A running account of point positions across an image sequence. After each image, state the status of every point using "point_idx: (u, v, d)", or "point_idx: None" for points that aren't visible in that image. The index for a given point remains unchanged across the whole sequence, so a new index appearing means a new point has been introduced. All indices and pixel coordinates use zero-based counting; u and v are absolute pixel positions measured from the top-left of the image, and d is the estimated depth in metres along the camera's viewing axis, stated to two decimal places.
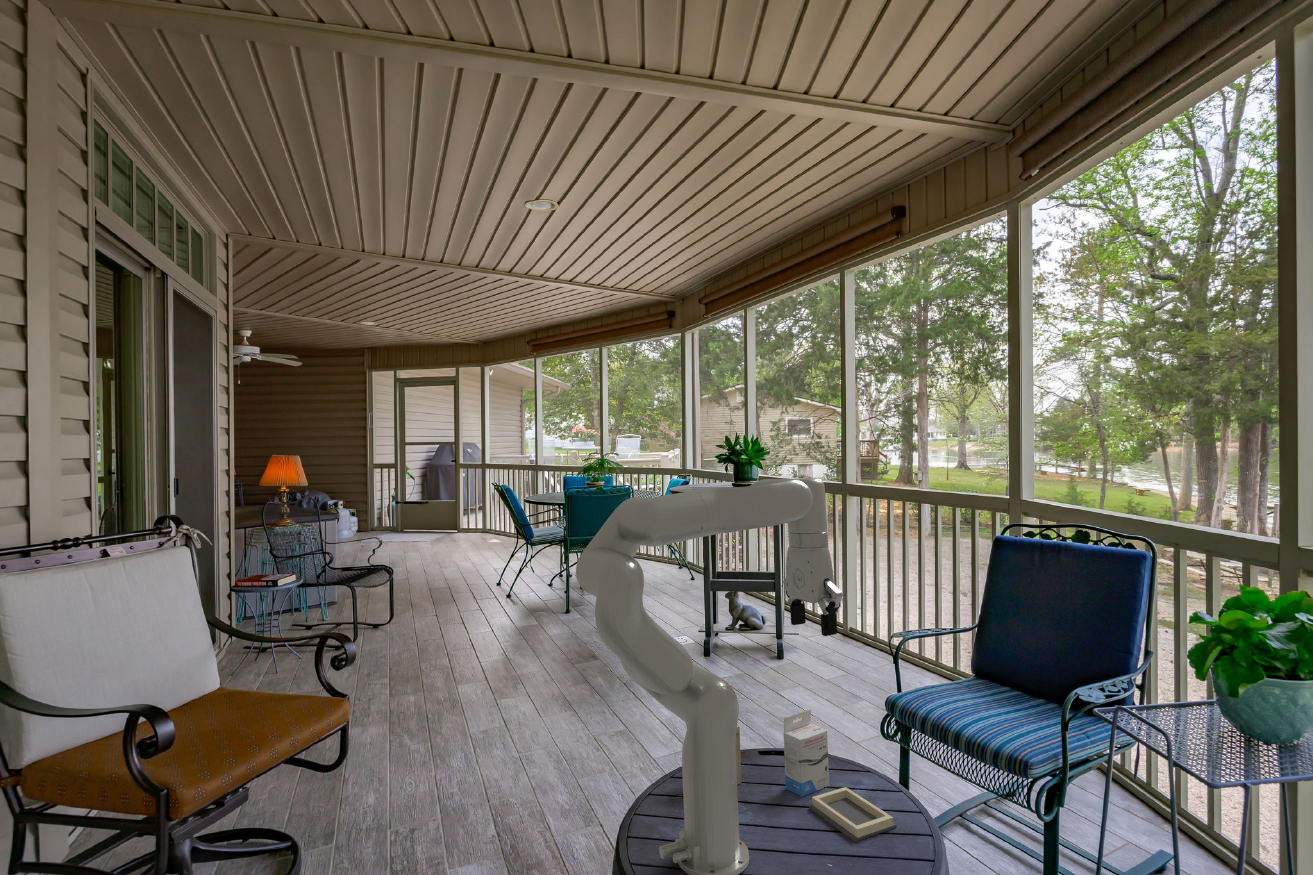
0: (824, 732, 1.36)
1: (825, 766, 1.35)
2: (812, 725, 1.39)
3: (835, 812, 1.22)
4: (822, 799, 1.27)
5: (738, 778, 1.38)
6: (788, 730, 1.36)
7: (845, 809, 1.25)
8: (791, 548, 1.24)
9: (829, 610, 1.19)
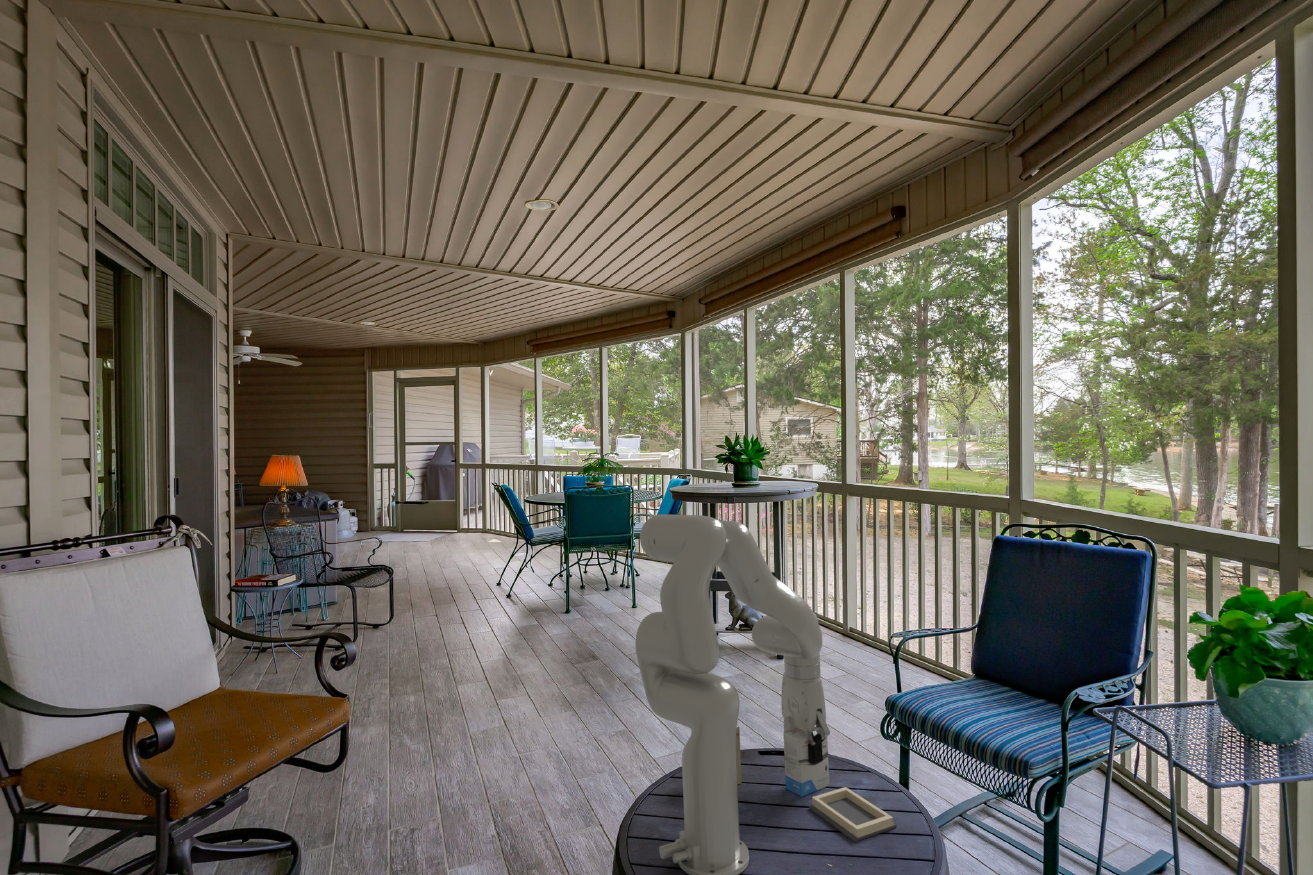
0: None
1: (825, 766, 1.35)
2: None
3: (835, 812, 1.22)
4: (822, 799, 1.27)
5: (738, 778, 1.38)
6: (788, 730, 1.37)
7: (845, 809, 1.25)
8: (787, 677, 1.36)
9: (815, 741, 1.32)
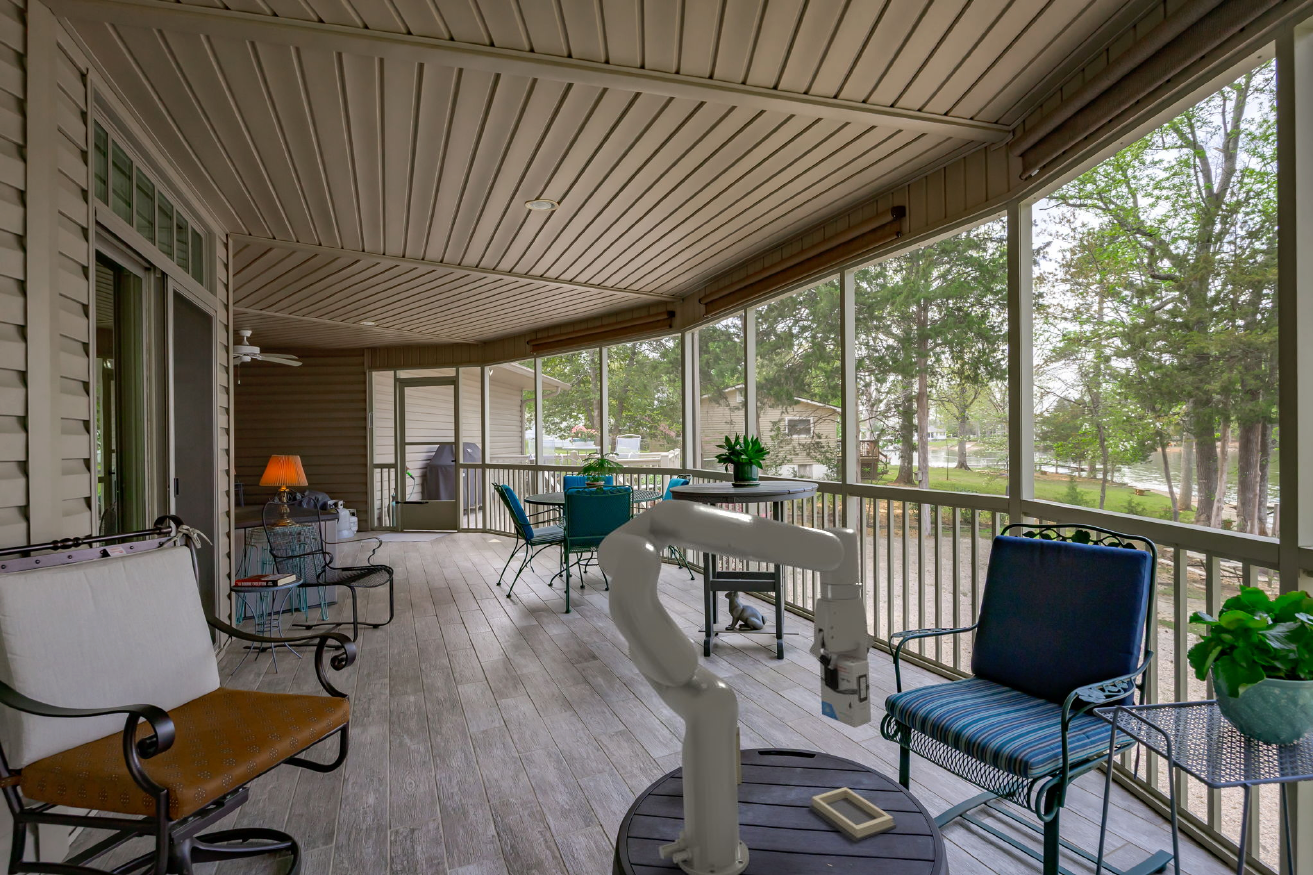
0: (848, 665, 1.21)
1: (849, 703, 1.20)
2: (861, 660, 1.22)
3: (835, 812, 1.22)
4: (822, 799, 1.27)
5: (738, 778, 1.38)
6: None
7: (845, 809, 1.25)
8: None
9: None
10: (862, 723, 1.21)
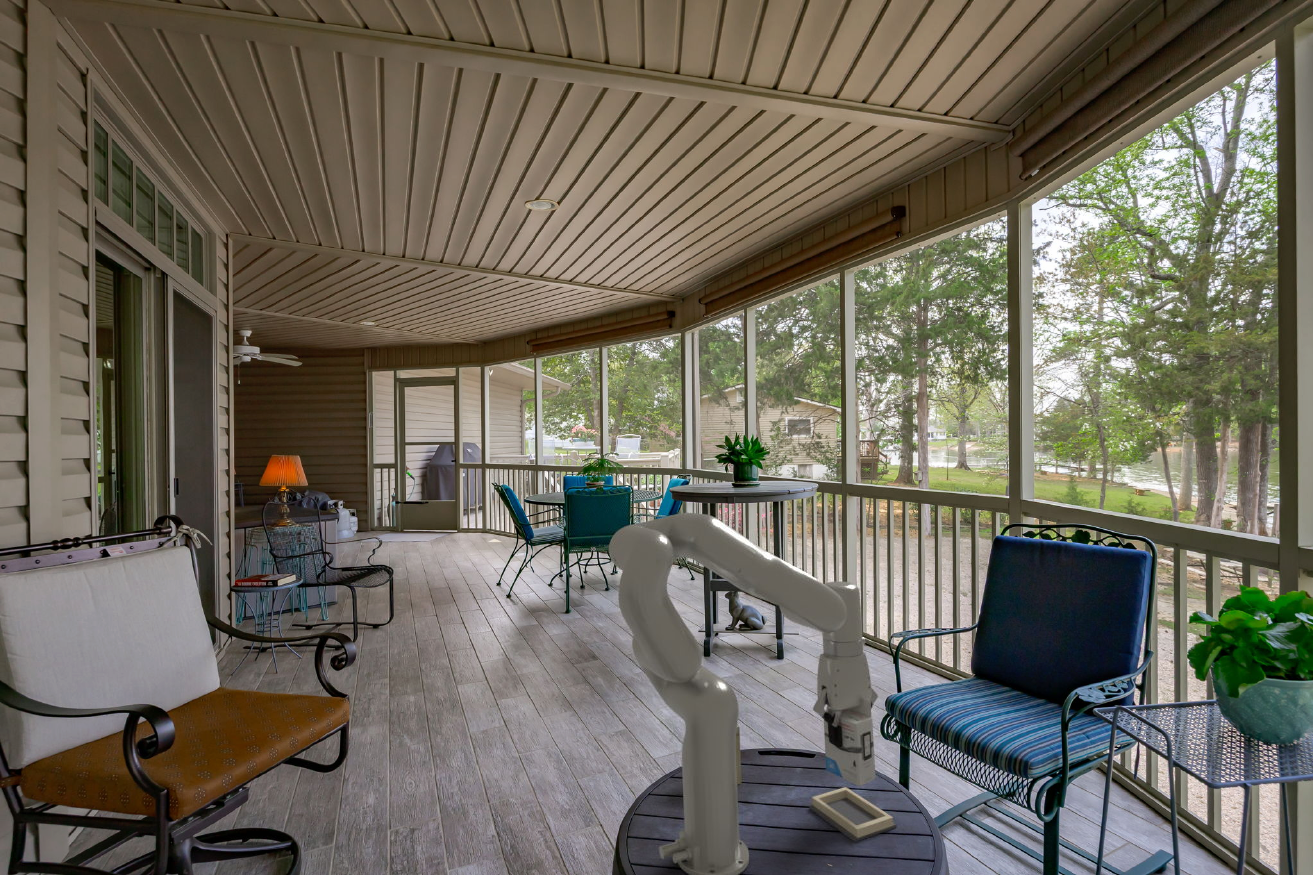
0: (852, 723, 1.20)
1: (853, 761, 1.20)
2: (865, 717, 1.22)
3: (835, 812, 1.22)
4: (822, 799, 1.27)
5: (738, 778, 1.38)
6: None
7: (845, 809, 1.25)
8: None
9: None
10: (867, 781, 1.20)
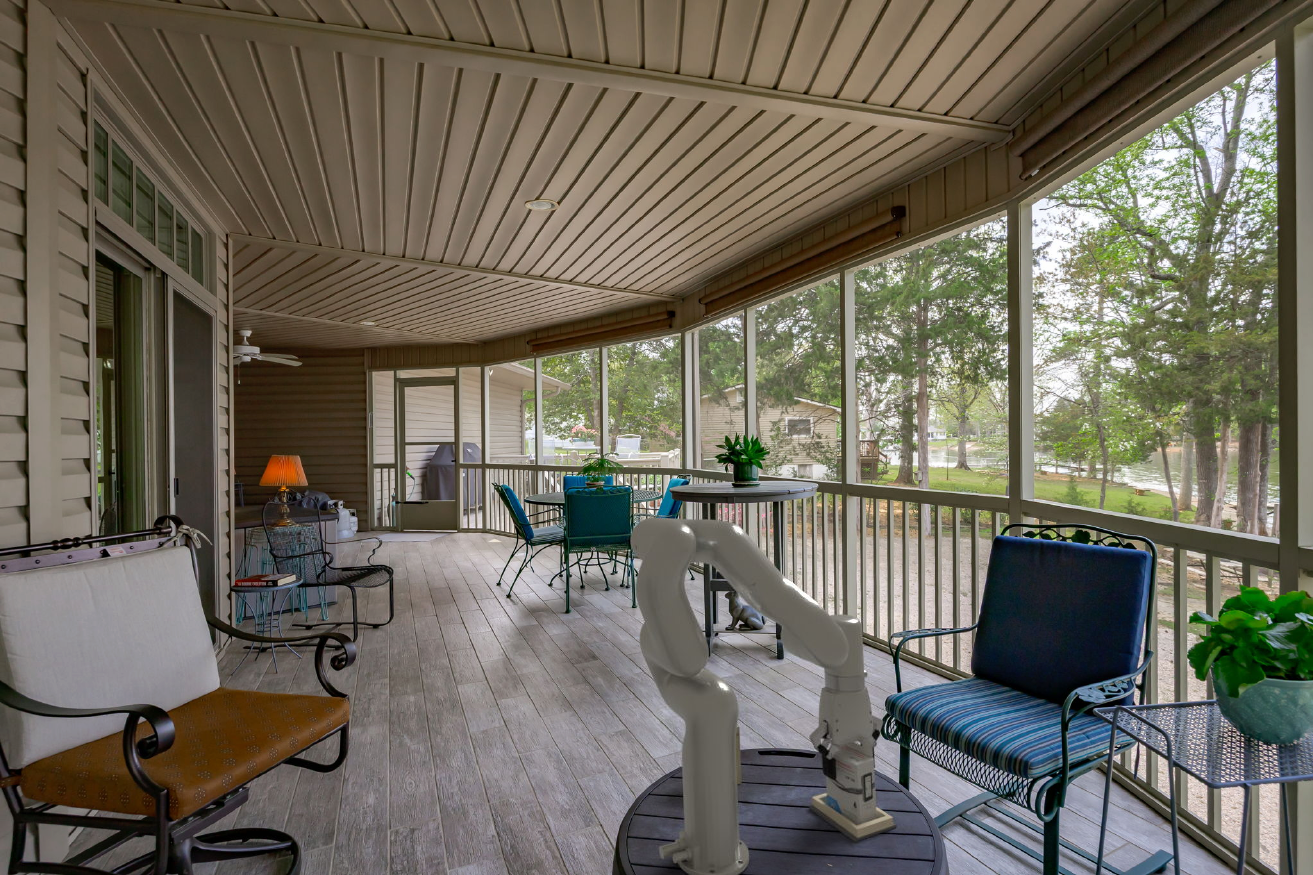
0: (852, 764, 1.20)
1: (854, 802, 1.20)
2: (866, 758, 1.21)
3: (835, 812, 1.22)
4: (822, 799, 1.27)
5: (738, 778, 1.38)
6: None
7: None
8: None
9: None
10: None
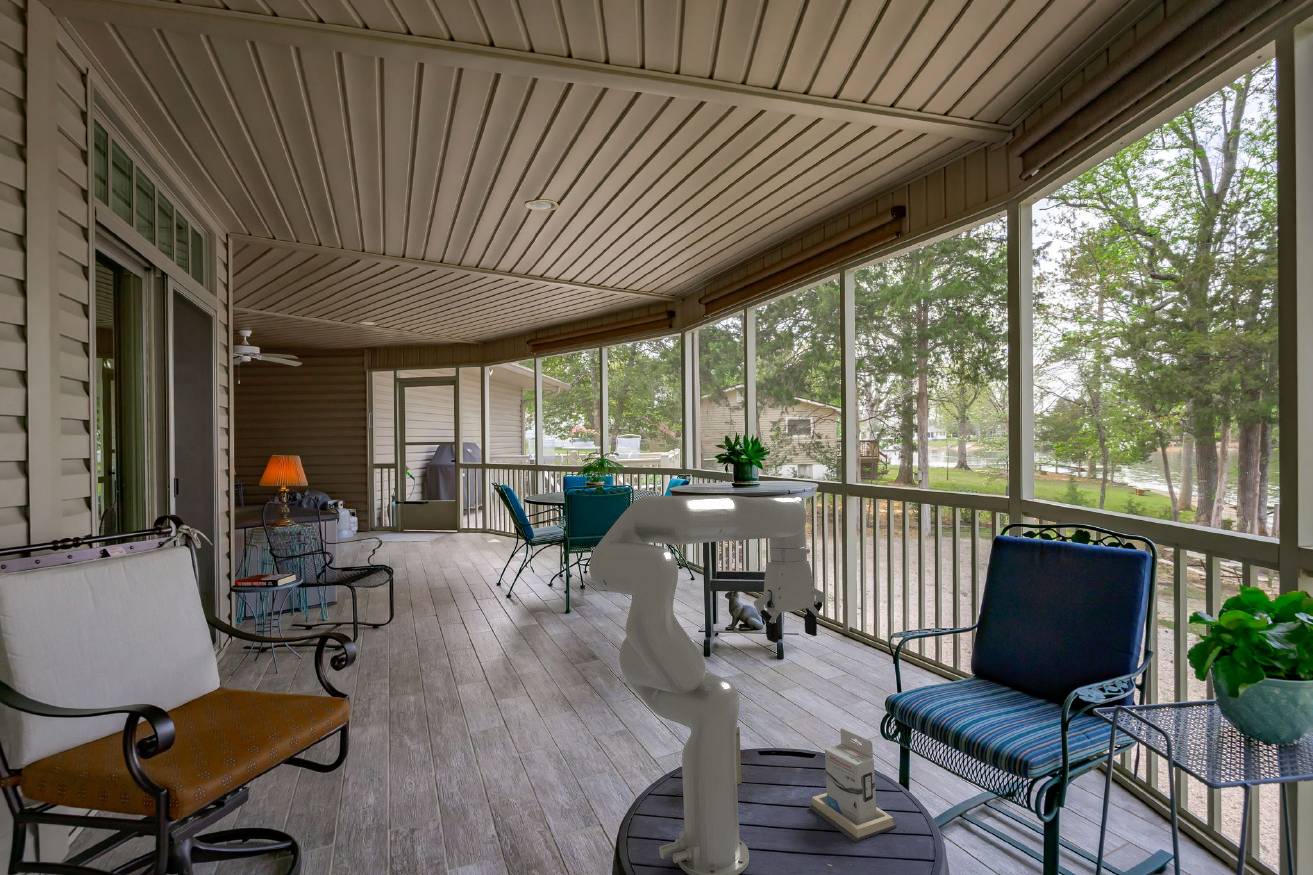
0: (852, 764, 1.20)
1: (854, 802, 1.20)
2: (866, 758, 1.21)
3: (835, 812, 1.22)
4: (822, 799, 1.27)
5: (738, 778, 1.38)
6: (845, 744, 1.27)
7: None
8: None
9: None
10: None
